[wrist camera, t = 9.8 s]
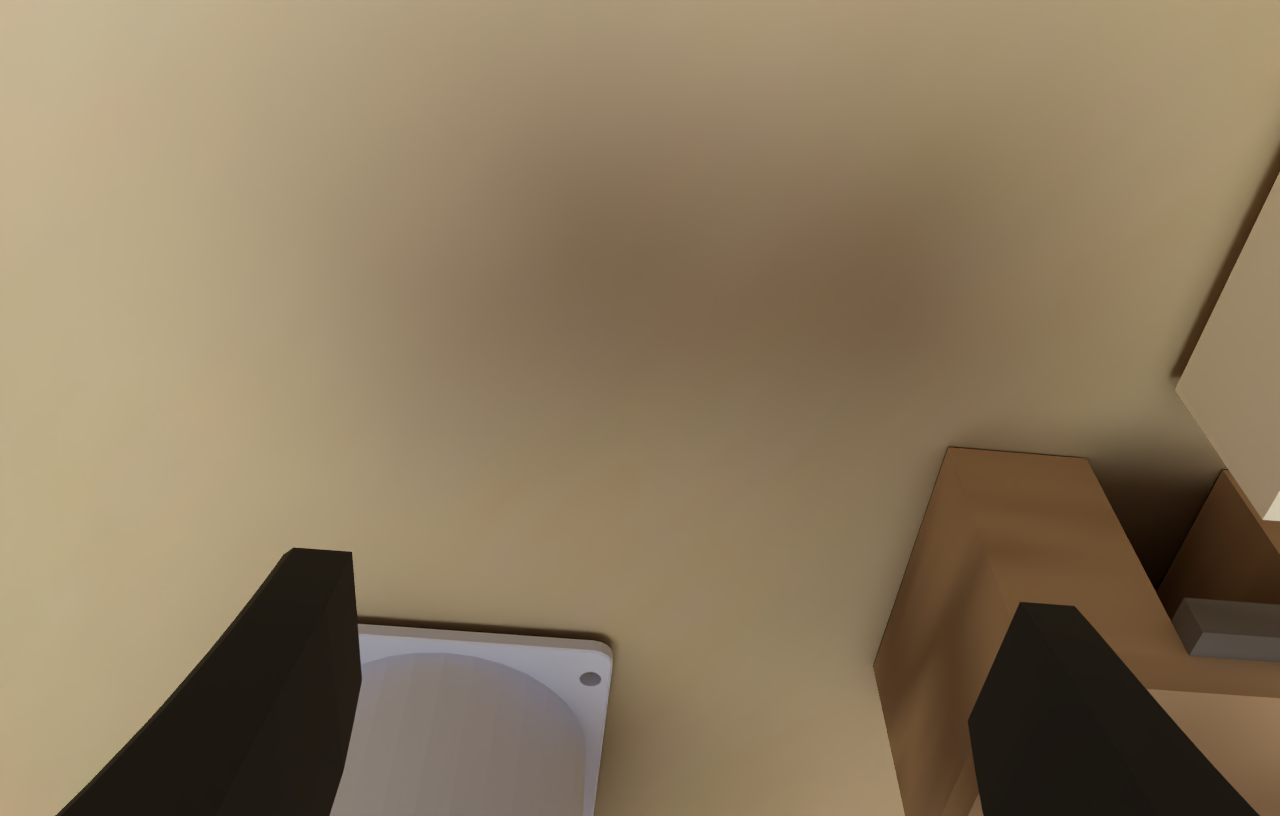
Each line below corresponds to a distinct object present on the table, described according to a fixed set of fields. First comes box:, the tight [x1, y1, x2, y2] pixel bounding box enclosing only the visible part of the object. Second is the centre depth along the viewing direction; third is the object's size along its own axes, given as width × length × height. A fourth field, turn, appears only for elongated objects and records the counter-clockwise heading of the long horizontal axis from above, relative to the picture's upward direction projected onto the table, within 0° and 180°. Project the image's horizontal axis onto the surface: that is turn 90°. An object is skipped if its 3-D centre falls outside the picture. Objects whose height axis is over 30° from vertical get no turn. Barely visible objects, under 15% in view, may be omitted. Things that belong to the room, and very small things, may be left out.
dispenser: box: [873, 447, 1280, 816], centre depth 23 cm, size 8×9×6 cm
